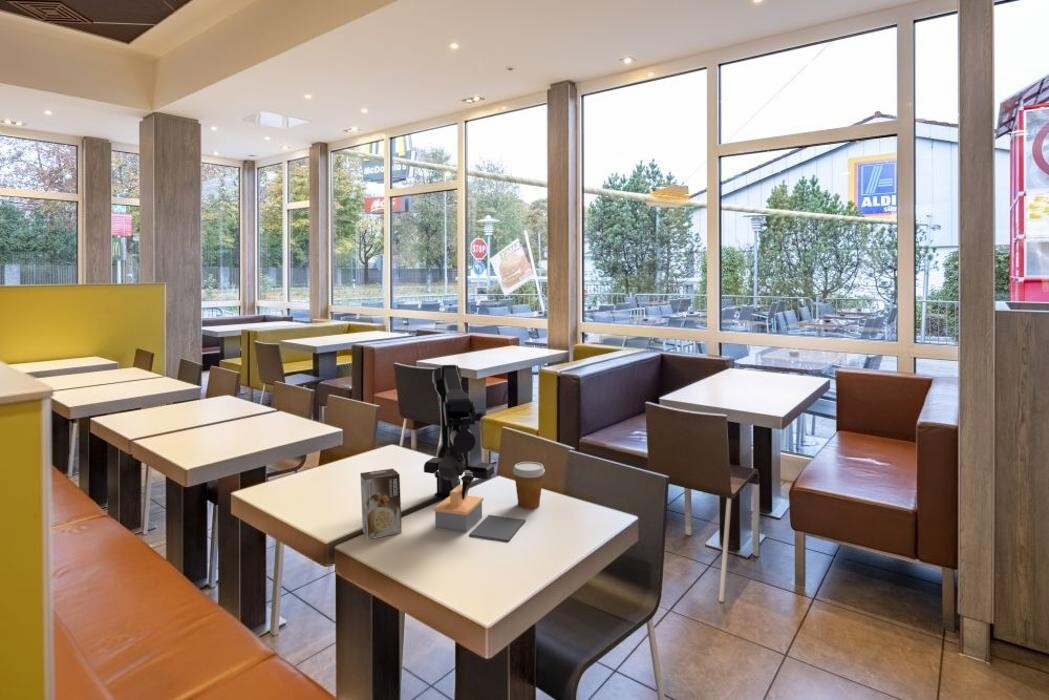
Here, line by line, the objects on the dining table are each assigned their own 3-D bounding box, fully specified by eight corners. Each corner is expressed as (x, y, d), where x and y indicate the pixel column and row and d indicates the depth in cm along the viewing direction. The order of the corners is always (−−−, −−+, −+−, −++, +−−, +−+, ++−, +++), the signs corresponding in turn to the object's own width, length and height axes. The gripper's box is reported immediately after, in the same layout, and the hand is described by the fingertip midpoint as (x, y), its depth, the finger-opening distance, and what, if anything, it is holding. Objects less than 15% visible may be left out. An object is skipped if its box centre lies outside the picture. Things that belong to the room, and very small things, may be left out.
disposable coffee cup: (545, 500, 181) (546, 461, 180) (543, 511, 172) (543, 471, 171) (514, 498, 182) (514, 460, 181) (511, 510, 173) (511, 470, 172)
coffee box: (395, 524, 162) (394, 467, 161) (402, 533, 157) (401, 474, 155) (361, 530, 158) (360, 472, 156) (367, 540, 153) (365, 479, 151)
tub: (435, 528, 160) (435, 510, 159) (452, 513, 170) (452, 496, 170) (466, 533, 157) (466, 514, 156) (482, 517, 167) (481, 500, 167)
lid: (433, 513, 159) (433, 493, 159) (452, 499, 170) (452, 480, 169) (466, 518, 156) (466, 497, 156) (483, 503, 167) (483, 483, 166)
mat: (469, 536, 155) (469, 534, 155) (488, 516, 168) (488, 514, 168) (508, 541, 152) (508, 539, 152) (525, 521, 165) (525, 519, 165)
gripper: (413, 447, 156) (414, 504, 158) (478, 453, 151) (479, 513, 152) (432, 437, 167) (433, 491, 169) (494, 442, 161) (494, 498, 163)
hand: (459, 498), depth 163 cm, fingers closed on lid, 2 cm apart
